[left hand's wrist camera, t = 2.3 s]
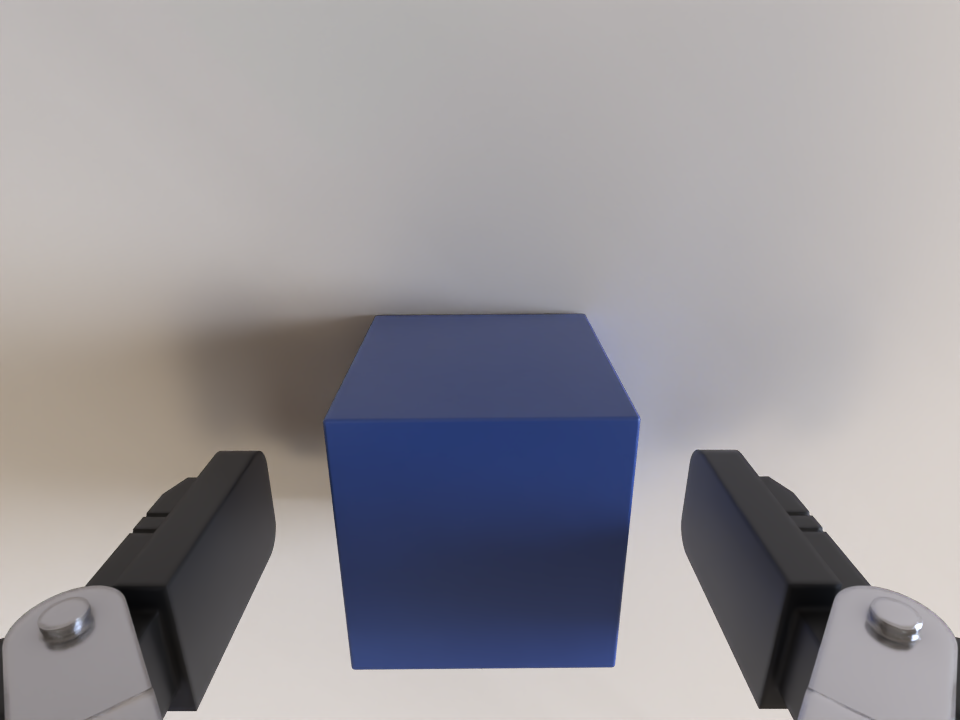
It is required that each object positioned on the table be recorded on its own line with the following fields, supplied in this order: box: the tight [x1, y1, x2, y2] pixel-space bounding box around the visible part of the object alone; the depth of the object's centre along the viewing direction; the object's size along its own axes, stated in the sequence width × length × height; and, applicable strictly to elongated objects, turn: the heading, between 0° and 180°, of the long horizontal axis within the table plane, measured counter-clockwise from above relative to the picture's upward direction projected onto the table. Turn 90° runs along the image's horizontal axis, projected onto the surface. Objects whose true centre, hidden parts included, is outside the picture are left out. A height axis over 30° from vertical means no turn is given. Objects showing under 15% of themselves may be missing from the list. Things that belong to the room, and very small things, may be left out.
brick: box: [323, 314, 640, 670], centre depth 11 cm, size 4×5×5 cm
